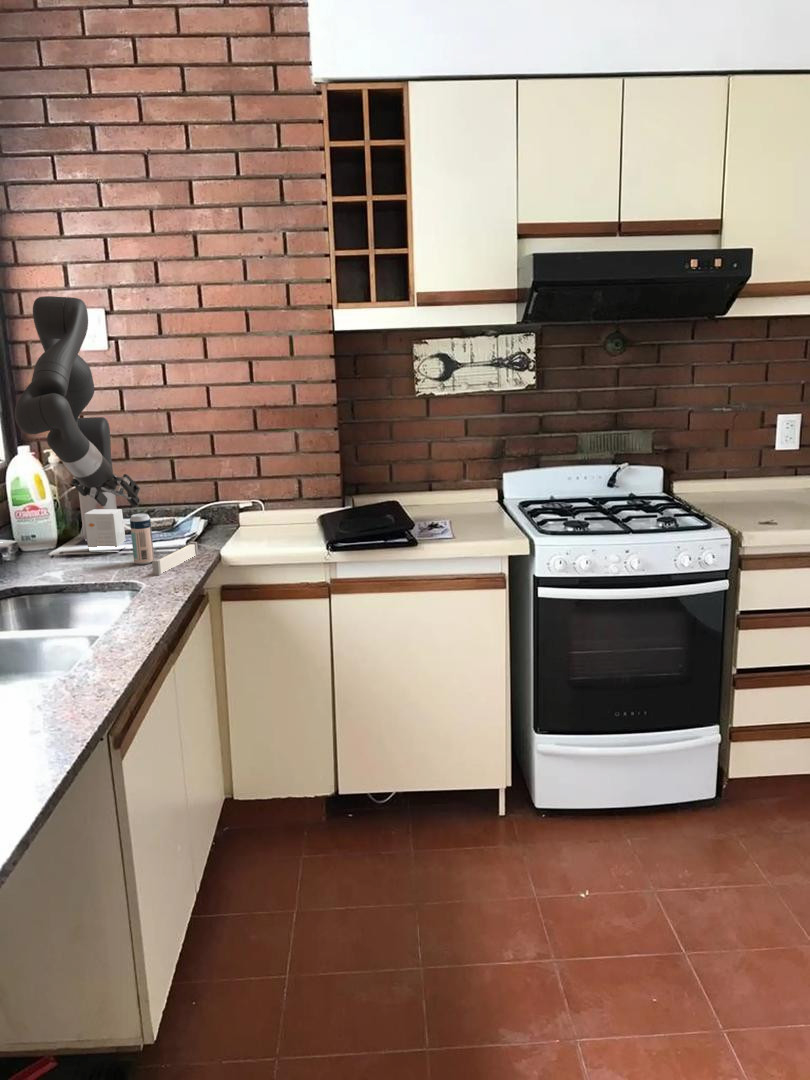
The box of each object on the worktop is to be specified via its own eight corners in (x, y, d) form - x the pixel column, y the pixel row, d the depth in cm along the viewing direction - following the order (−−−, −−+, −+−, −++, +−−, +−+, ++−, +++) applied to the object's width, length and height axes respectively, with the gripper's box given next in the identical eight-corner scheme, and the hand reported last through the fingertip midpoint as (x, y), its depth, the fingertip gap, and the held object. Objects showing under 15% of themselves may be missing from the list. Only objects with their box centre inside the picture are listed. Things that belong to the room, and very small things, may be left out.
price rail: (159, 575, 198) (157, 561, 197) (153, 574, 198) (151, 560, 197) (198, 555, 215) (197, 542, 214) (192, 554, 215) (191, 541, 215)
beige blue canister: (158, 561, 210) (154, 513, 207) (145, 566, 206) (140, 517, 203) (143, 559, 212) (138, 512, 209) (129, 564, 208) (125, 516, 205)
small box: (126, 547, 223) (122, 508, 221) (117, 553, 218) (113, 513, 215) (97, 547, 224) (93, 508, 222) (87, 553, 219) (83, 513, 216)
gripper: (120, 449, 184) (153, 491, 198) (63, 447, 188) (100, 489, 202) (108, 477, 181) (142, 518, 194) (50, 475, 184) (88, 515, 198)
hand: (120, 503), depth 198 cm, fingers open, 8 cm apart
